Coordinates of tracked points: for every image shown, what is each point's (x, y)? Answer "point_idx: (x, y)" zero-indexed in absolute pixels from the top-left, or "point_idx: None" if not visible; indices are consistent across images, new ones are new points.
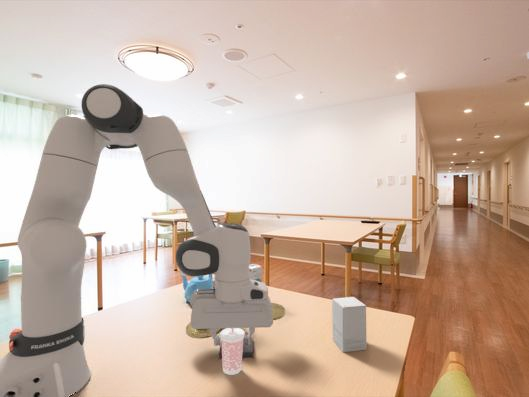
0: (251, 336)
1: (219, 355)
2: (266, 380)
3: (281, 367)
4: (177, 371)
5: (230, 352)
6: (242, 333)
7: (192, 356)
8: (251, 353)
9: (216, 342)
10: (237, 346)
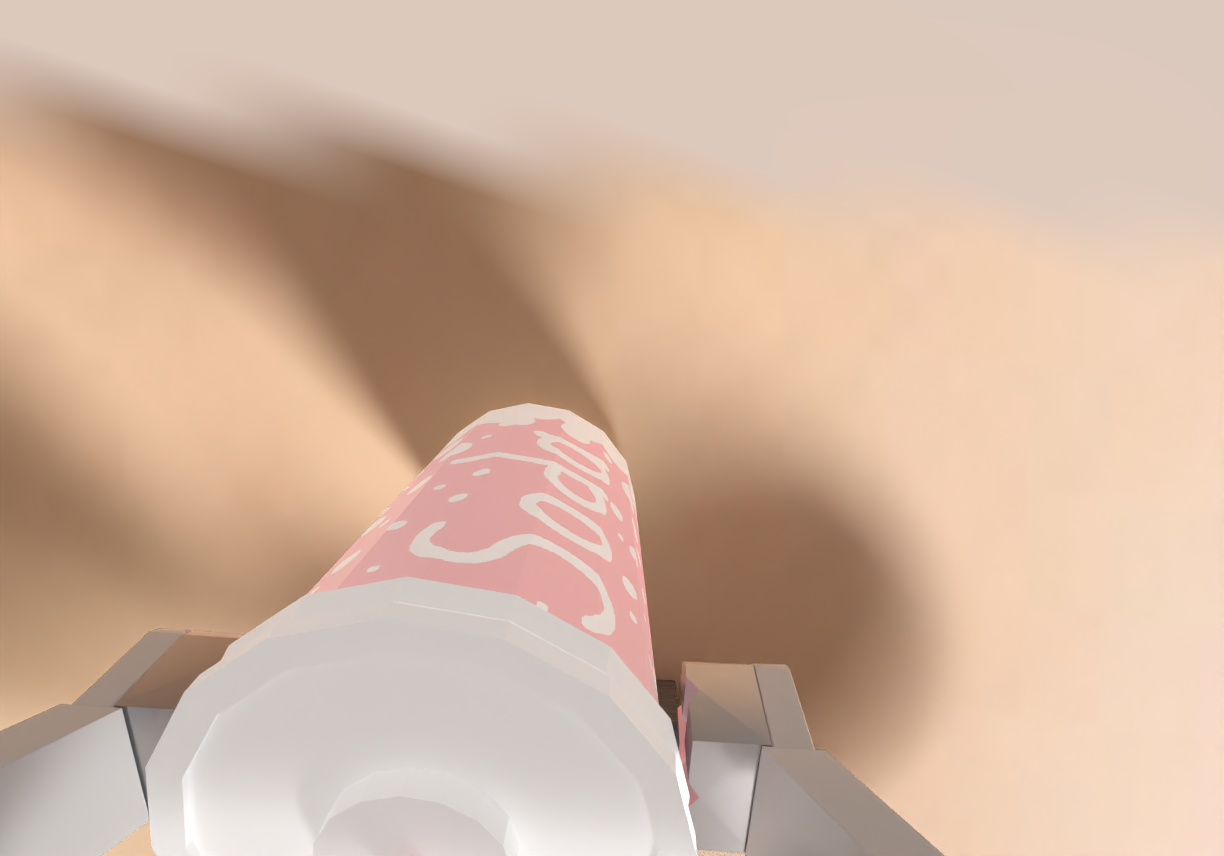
0: (15, 725)
1: (675, 707)
2: (165, 307)
3: (27, 487)
4: (1092, 556)
5: (502, 507)
6: (205, 825)
7: (939, 749)
8: None
9: (752, 695)
10: (354, 560)
